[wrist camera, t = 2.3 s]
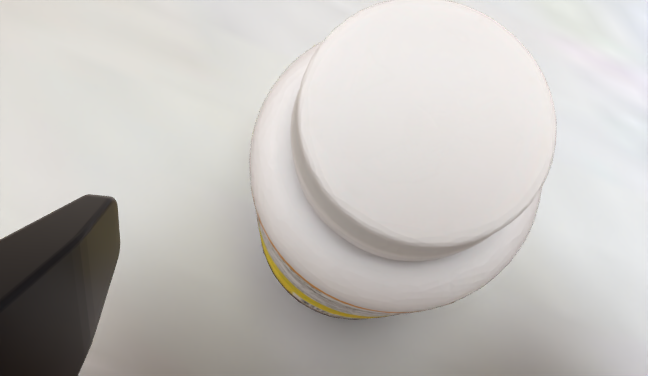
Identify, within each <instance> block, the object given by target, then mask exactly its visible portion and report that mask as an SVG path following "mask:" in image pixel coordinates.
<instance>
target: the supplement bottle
mask: <svg viewBox="0 0 648 376" xmlns="http://www.w3.org/2000/svg"><path fill="white" fill-rule="evenodd" d="M556 126H557V122H556V115H555V109H554V104H553V99H552V96H551V92H550V89H549V87H548V84H547V82H546V80H545V77H544V75H543V73H542V71H541V69H540V68H539V66H538V64H537V63H536V61H535V60H534V58H533V57H532V55H531V54H530V52H529V51H528V50H527V49H526V48H525V47H524V45H523V44H522V43H521V42H520V41H519V40H518V39H517V38H516V37H515V36H514V35H513V34H512V33H511V32H509V31H508V30H507V29H506V28H504V27H503V26H502V25H501V24H499V23H498V22H497V21H495V20H494V19H492V18H490V17H489V16H487V15H485V14H483V13H482V12H479V11H477V10H475V9H472V8H470V7H467V6H465V5H462V4H459V3H455V2H452V1H448V0H390V1H386V2H382V3H378V4H375V5H373V6H370V7H368V8H366V9H363V10H361V11H359V12H357V13H356V14H354V15H353V16H351V17H349V18H348V19H346V20H345V21H344V22H343V23H341V24H340V25H339V26H337V27H336V28H335V29H334V30H333V31H332V32H331V33H330V34H329V35H328V36H327V37H326V38H325V40H324V41H322V42H320V43H319V44H317V45H315V46H313V47H312V48H310V49H309V50H307V51H306V52H305V53H303V54H302V55H301V56H299V57H298V58H297V59H296V60H295V61H294V62H293V63H292V64H291V65H290V66H289V67H288V68H287V69H286V70H285V71H284V72H283V73H282V74H281V76H280V77H279V79H278V80H277V81H276V83H275V84H274V85H273V87H272V88H271V90H270V92H269V93H268V95H267V97H266V99H265V100H264V102H263V104H262V107H261V109H260V111H259V114H258V117H257V120H256V122H255V126H254V131H253V135H252V140H251V148H250V180H251V190H252V195H253V201H254V204H255V209H256V214H257V221H258V226H259V231H260V236H261V243H262V247H263V251H264V254H265V256H266V259H267V262H268V264H269V266H270V268H271V270H272V272H273V274H274V275H275V277H276V278H277V279H278V281H279V282H280V283H281V285H282V286H283V287H284V288H285V289H286V290H287V291H288V292H289V293H290V294H291V295H292V296H293V297H294V298H295V299H297V300H298V302H300V303H302V304H304V305H305V306H307V307H309V308H311V309H313V310H315V311H317V312H319V313H322V314H325V315H328V316H331V317H336V318H343V319H368V318H379V317H386V316H391V315H399V314H405V313H412V312H419V311H424V310H429V309H433V308H437V307H441V306H444V305H447V304H450V303H453V302H455V301H457V300H459V299H462V298H464V297H466V296H468V295H469V294H471V293H473V292H475V291H477V290H478V289H480V288H481V287H483V286H484V285H486V284H487V283H488V282H490V281H491V280H492V279H493V278H494V277H495V276H497V275H498V274H499V273H500V272H501V271H502V270H503V269H504V268H505V267H506V266H507V265H508V264H509V263H510V262H511V260H512V259H513V258H514V256H515V255H516V254H517V252H518V251H519V249H520V248H521V246H522V244H523V243H524V241H525V239H526V237H527V235H528V233H529V231H530V229H531V227H532V225H533V222H534V219H535V216H536V212H537V209H538V205H539V201H540V196H541V190H542V186H543V184H544V182H545V179H546V177H547V175H548V173H549V170H550V167H551V164H552V161H553V156H554V150H555V145H556Z"/></svg>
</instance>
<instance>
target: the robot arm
mask: <svg viewBox="0 0 648 376" xmlns="http://www.w3.org/2000/svg"><path fill="white" fill-rule="evenodd" d="M119 251H120V233H119V219H118V206H117V202H116V200H115V199H114V198H113V197H109V196H100V195H90V194H88V195H85V196H82V197H80V198H78V199H77V200H75V201H73V202H71V203H69V204H67V205H65V206H63V207H61V208H60V209H58V210H56V211H54V212H52V213H50V214H48V215H46V216H44V217H42V218H41V219H39V220H37V221H35V222H33V223H31V224H29V225H27V226H25V227H23V228H22V229H20V230H18V231H16V232H14V233H12V234H10V235H8V236H6V237H4V238H3V239H1V240H0V376H78V374H79V372H80V370H81V367H82V365H83V363H84V361H85V358H86V356H87V354H88V351H89V349H90V346H91V344H92V341H93V338H94V335H95V332H96V329H97V325H98V322H99V319H100V316H101V312H102V309H103V306H104V303H105V299H106V296H107V293H108V289H109V286H110V283H111V280H112V276H113V273H114V270H115V267H116V263H117V260H118V257H119Z"/></svg>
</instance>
